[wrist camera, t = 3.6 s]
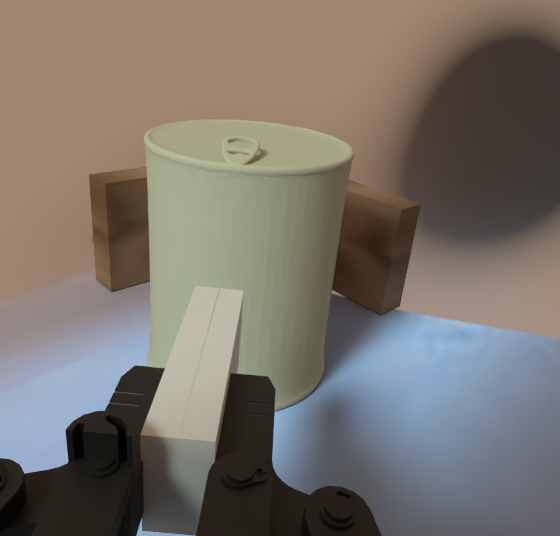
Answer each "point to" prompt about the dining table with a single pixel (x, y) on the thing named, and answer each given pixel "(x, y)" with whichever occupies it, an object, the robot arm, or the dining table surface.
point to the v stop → (350, 256)
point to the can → (248, 238)
